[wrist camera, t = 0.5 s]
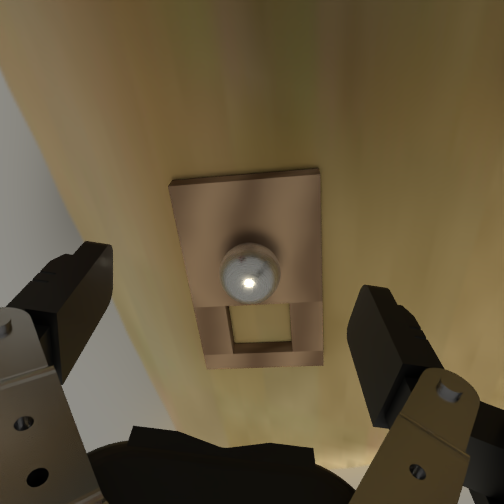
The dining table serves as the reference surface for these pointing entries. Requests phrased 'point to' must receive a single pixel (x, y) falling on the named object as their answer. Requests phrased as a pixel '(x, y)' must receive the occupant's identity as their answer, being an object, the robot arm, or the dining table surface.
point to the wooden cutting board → (262, 232)
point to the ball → (250, 273)
